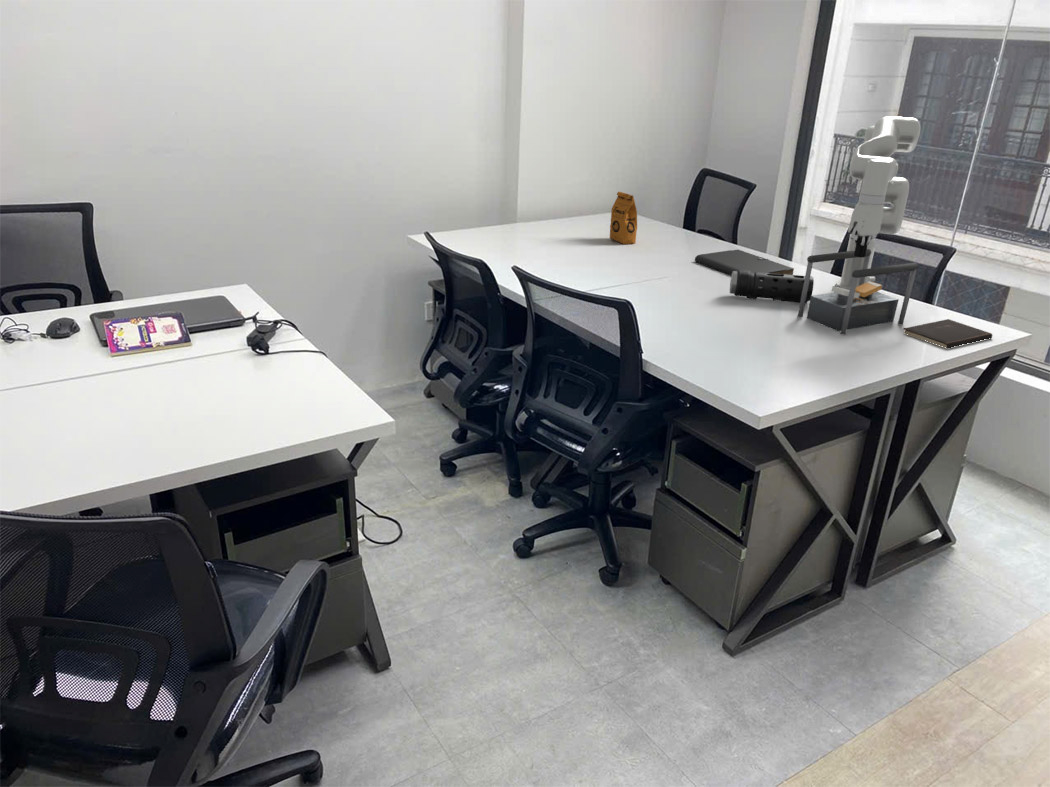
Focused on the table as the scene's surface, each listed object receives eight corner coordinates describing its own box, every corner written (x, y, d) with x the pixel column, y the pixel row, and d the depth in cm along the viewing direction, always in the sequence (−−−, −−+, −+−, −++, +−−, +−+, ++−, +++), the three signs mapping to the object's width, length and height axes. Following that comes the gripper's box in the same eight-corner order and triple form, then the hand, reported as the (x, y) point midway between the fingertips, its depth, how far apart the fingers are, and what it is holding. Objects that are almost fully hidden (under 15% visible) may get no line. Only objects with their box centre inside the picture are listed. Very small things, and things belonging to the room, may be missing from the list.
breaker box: (860, 309, 275) (866, 284, 271) (893, 321, 264) (899, 295, 260) (806, 318, 264) (811, 291, 260) (838, 331, 253) (844, 303, 249)
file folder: (795, 267, 311) (750, 274, 301) (793, 277, 313) (748, 285, 302) (738, 248, 337) (695, 254, 327) (737, 257, 339) (694, 264, 329)
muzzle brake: (809, 307, 276) (815, 279, 271) (729, 300, 280) (733, 273, 276) (806, 300, 284) (811, 272, 280) (728, 293, 289) (732, 266, 285)
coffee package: (620, 245, 351) (625, 196, 341) (606, 239, 361) (610, 191, 351) (639, 243, 355) (643, 195, 346) (624, 237, 365) (628, 190, 356)
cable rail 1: (855, 306, 279) (867, 248, 270) (860, 307, 277) (873, 249, 268) (795, 315, 267) (806, 255, 258) (800, 317, 265) (811, 256, 256)
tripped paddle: (869, 285, 265) (869, 280, 265) (881, 289, 261) (881, 284, 261) (852, 293, 263) (852, 288, 262) (863, 297, 259) (864, 292, 258)
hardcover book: (902, 334, 254) (903, 328, 253) (946, 325, 264) (948, 319, 263) (946, 351, 241) (948, 344, 240) (991, 340, 251) (993, 333, 250)
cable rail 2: (899, 322, 263) (914, 261, 254) (905, 324, 261) (920, 263, 253) (837, 333, 251) (851, 269, 242) (843, 335, 249) (857, 271, 240)
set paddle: (846, 293, 262) (848, 289, 261) (858, 298, 258) (860, 293, 257) (831, 290, 258) (832, 285, 257) (842, 295, 254) (844, 290, 253)
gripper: (878, 197, 252) (866, 252, 260) (845, 198, 246) (834, 255, 253) (897, 200, 246) (884, 257, 254) (864, 202, 240) (852, 261, 247)
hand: (859, 256), depth 253 cm, fingers closed
